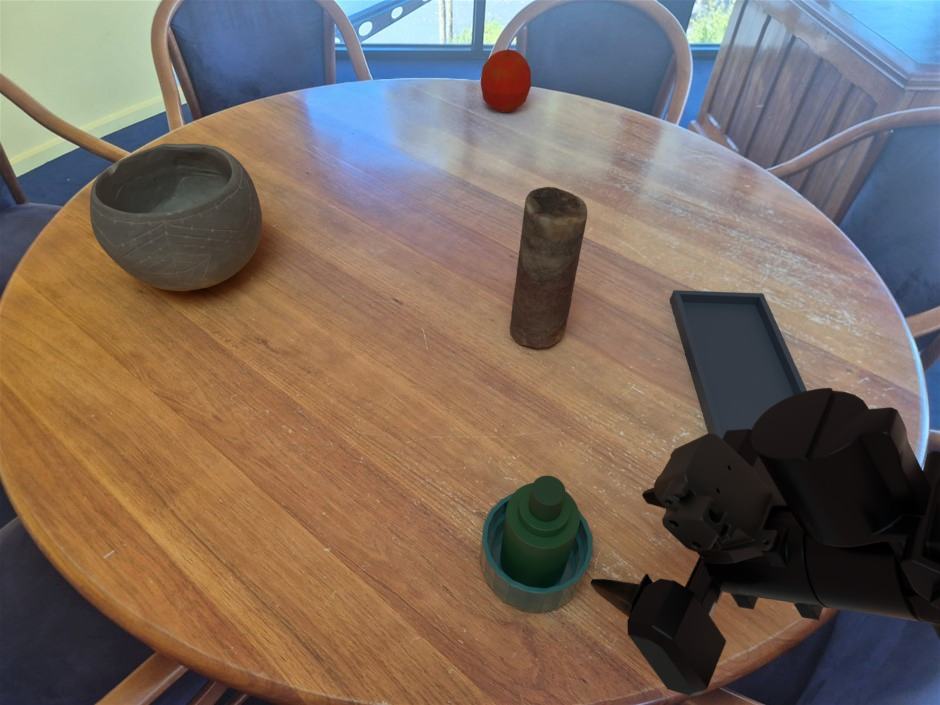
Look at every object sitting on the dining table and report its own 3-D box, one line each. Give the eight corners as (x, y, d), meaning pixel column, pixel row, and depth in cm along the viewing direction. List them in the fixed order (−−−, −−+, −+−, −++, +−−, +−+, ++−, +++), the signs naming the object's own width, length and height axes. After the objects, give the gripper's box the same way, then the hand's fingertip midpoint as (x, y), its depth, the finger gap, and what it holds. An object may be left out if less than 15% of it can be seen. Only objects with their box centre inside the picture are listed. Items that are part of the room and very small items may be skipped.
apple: (490, 92, 132) (493, 35, 123) (535, 102, 129) (541, 44, 121) (472, 112, 125) (473, 53, 117) (518, 122, 123) (524, 63, 114)
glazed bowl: (604, 558, 61) (614, 534, 58) (542, 638, 56) (549, 617, 52) (523, 496, 66) (527, 471, 62) (459, 565, 60) (459, 541, 57)
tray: (841, 495, 67) (850, 485, 66) (725, 491, 67) (731, 481, 65) (758, 303, 88) (763, 293, 86) (669, 300, 88) (673, 289, 86)
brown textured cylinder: (531, 304, 86) (549, 177, 72) (576, 329, 83) (603, 201, 69) (498, 333, 82) (509, 205, 68) (543, 360, 79) (565, 231, 65)
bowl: (232, 330, 82) (198, 236, 71) (90, 303, 84) (36, 209, 73) (297, 236, 96) (278, 146, 85) (173, 216, 98) (139, 126, 87)
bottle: (578, 556, 61) (602, 487, 51) (539, 605, 57) (557, 541, 48) (526, 516, 64) (540, 444, 54) (486, 561, 60) (494, 492, 51)
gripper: (812, 357, 40) (622, 387, 52) (708, 588, 30) (500, 558, 42) (879, 484, 43) (683, 484, 55) (806, 736, 32) (584, 667, 45)
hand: (620, 539), depth 49 cm, fingers open, 9 cm apart
